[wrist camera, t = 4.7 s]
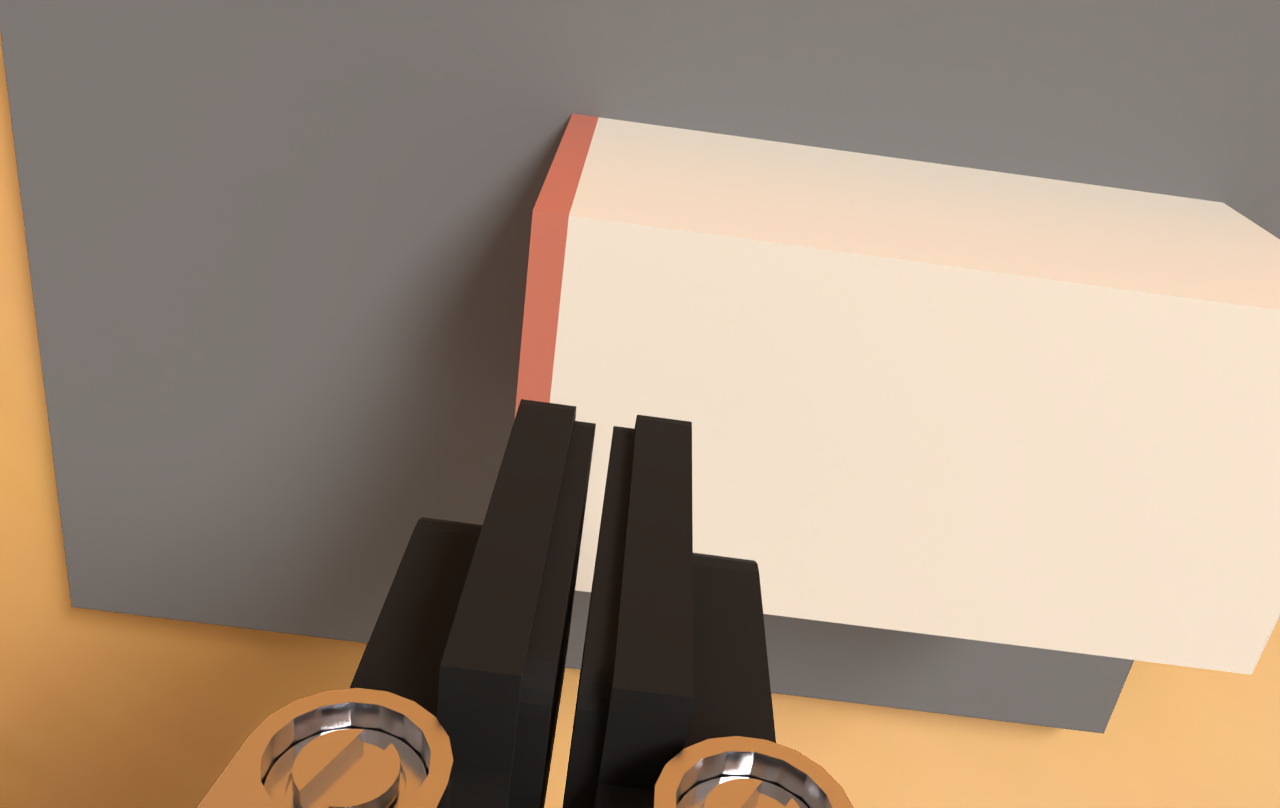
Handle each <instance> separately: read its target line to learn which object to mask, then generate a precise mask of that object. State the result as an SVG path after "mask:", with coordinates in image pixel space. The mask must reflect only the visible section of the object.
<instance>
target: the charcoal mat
mask: <svg viewBox="0 0 1280 808" xmlns="http://www.w3.org/2000/svg"><path fill="white" fill-rule="evenodd" d="M0 32H1V40H2V49H3V57H4V65H5V73H6V81H7V89H8V97H9V105H10V113H11V121H12V129H13V137H14V145H15V153H16V161H17V170H18V178H19V186H20V194H21V202H22V210H23V218H24V226H25V234H26V242H27V250H28V258H29V266H30V274H31V282H32V291H33V299H34V307H35V315H36V323H37V331H38V339H39V347H40V355H41V363H42V371H43V379H44V387H45V395H46V403H47V412H48V420H49V428H50V436H51V444H52V452H53V460H54V468H55V476H56V484H57V492H58V500H59V508H60V516H61V524H62V532H63V541H64V549H65V557H66V565H67V573H68V581H69V589H70V597H71V605H72V607H76V608H84V609H93V610H101V611H109V612H117V613H125V614H133V615H142V616H150V617H158V618H166V619H174V620H182V621H191V622H199V623H207V624H215V625H223V626H231V627H239V628H248V629H256V630H264V631H272V632H280V633H288V634H297V635H305V636H313V637H321V638H329V639H337V640H345V641H354V642H362V643H368V642H369V639H370V637H371V634H372V632H373V629H374V627H375V624H376V622H377V619H378V617H379V614H380V612H381V609H382V607H383V605H384V602H385V600H386V597H387V595H388V592H389V590H390V587H391V585H392V582H393V580H394V577H395V575H396V572H397V570H398V567H399V565H400V562H401V560H402V557H403V555H404V552H405V550H406V547H407V545H408V543H409V540H410V538H411V535H412V533H413V530H414V528H415V526H416V524H417V522H418V520H419V519H420V518H422V517H425V518H432V519H440V520H448V521H455V522H463V523H471V524H478V525H483V522H484V519H485V516H486V512H487V509H488V506H489V503H490V499H491V496H492V493H493V489H494V486H495V483H496V480H497V476H498V473H499V470H500V466H501V463H502V460H503V456H504V453H505V450H506V447H507V443H508V440H509V437H510V433H511V430H512V427H513V424H514V419H515V408H516V396H517V385H518V373H519V362H520V351H521V339H522V328H523V316H524V305H525V294H526V282H527V271H528V259H529V248H530V237H531V225H532V214H533V209H534V206H535V204H536V201H537V199H538V196H539V194H540V191H541V189H542V187H543V184H544V182H545V179H546V177H547V174H548V172H549V169H550V167H551V165H552V162H553V160H554V157H555V155H556V152H557V150H558V147H559V145H560V142H561V140H562V138H563V135H564V133H565V130H566V128H567V125H568V123H569V120H570V118H571V116H572V114H579V115H586V116H593V117H601V118H608V119H615V120H622V121H630V122H637V123H644V124H652V125H659V126H666V127H674V128H681V129H688V130H696V131H703V132H710V133H718V134H725V135H732V136H740V137H747V138H754V139H762V140H769V141H776V142H783V143H791V144H798V145H805V146H813V147H820V148H827V149H835V150H842V151H849V152H857V153H864V154H871V155H879V156H886V157H893V158H901V159H908V160H915V161H923V162H930V163H937V164H944V165H952V166H959V167H966V168H974V169H981V170H988V171H996V172H1003V173H1010V174H1018V175H1025V176H1032V177H1040V178H1047V179H1054V180H1062V181H1069V182H1076V183H1084V184H1091V185H1098V186H1106V187H1113V188H1120V189H1127V190H1135V191H1142V192H1149V193H1157V194H1164V195H1171V196H1179V197H1186V198H1193V199H1201V200H1208V201H1215V202H1223V203H1225V204H1226V205H1228V206H1229V207H1231V208H1232V209H1234V210H1235V211H1237V212H1238V213H1240V214H1241V215H1243V216H1245V217H1246V218H1248V219H1249V220H1251V221H1252V222H1254V223H1255V224H1257V225H1258V226H1260V227H1261V228H1263V229H1264V230H1266V231H1268V232H1269V233H1271V234H1272V235H1274V236H1275V237H1277V238H1278V239H1280V0H0ZM590 597H591V592H584V591H576V590H575V594H574V602H573V610H572V618H571V626H570V634H569V642H568V649H567V657H566V664H565V667H566V668H574V669H581V664H582V657H583V649H584V642H585V634H586V627H587V619H588V612H589V604H590ZM763 617H764V627H765V637H766V647H767V657H768V668H769V678H770V688H771V693H778V694H786V695H794V696H802V697H810V698H818V699H827V700H835V701H843V702H851V703H859V704H867V705H876V706H884V707H892V708H900V709H908V710H916V711H924V712H933V713H941V714H949V715H957V716H965V717H973V718H982V719H990V720H998V721H1006V722H1014V723H1022V724H1031V725H1039V726H1047V727H1055V728H1063V729H1071V730H1079V731H1088V732H1096V733H1104V731H1105V729H1106V726H1107V724H1108V722H1109V719H1110V717H1111V714H1112V712H1113V710H1114V707H1115V705H1116V702H1117V700H1118V697H1119V695H1120V693H1121V690H1122V688H1123V685H1124V683H1125V681H1126V678H1127V676H1128V673H1129V671H1130V668H1131V666H1132V664H1133V661H1134V660H1130V659H1122V658H1114V657H1106V656H1098V655H1090V654H1082V653H1074V652H1066V651H1058V650H1050V649H1042V648H1034V647H1026V646H1018V645H1010V644H1002V643H994V642H986V641H978V640H970V639H961V638H953V637H945V636H937V635H929V634H921V633H913V632H905V631H897V630H889V629H881V628H873V627H865V626H857V625H849V624H841V623H833V622H825V621H817V620H809V619H801V618H793V617H785V616H777V615H769V614H763Z"/></svg>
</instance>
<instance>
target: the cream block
mask: <svg viewBox="0 0 1280 808" xmlns="http://www.w3.org/2000/svg"><path fill="white" fill-rule="evenodd" d="M521 399H524V400H532V401H539V402H547V403H554V404H562V405H569V406H576V419H575V421H580V422H588V423H595V424H596V428H595V436H594V444H593V452H592V460H591V468H590V476H589V484H588V492H587V500H586V507H585V515H584V523H583V531H582V539H581V547H580V555H579V563H578V571H577V579H576V586H575V590H576V591H584V592H591V590H592V582H593V575H594V567H595V560H596V553H597V545H598V538H599V530H600V523H601V515H602V508H603V501H604V493H605V486H606V478H607V471H608V463H609V456H610V449H611V441H612V434H613V427H614V426H618V427H625V428H633V429H635V423H636V417H637V415H644V416H652V417H659V418H667V419H674V420H682V421H689V422H692V524H693V553H700V554H708V555H716V556H723V557H731V558H739V559H746V560H754V561H756V563H757V564H758V569H759V576H760V586H761V596H762V606H763V614H769V615H777V616H785V617H793V618H801V619H809V620H817V621H825V622H833V623H841V624H849V625H857V626H865V627H873V628H881V629H889V630H897V631H905V632H913V633H921V634H929V635H937V636H945V637H953V638H961V639H970V640H978V641H986V642H994V643H1002V644H1010V645H1018V646H1026V647H1034V648H1042V649H1050V650H1058V651H1066V652H1074V653H1082V654H1090V655H1098V656H1106V657H1114V658H1122V659H1130V660H1138V661H1146V662H1154V663H1162V664H1170V665H1178V666H1186V667H1194V668H1202V669H1210V670H1218V671H1226V672H1234V673H1242V674H1250V675H1252V672H1253V670H1254V668H1255V666H1256V664H1257V662H1258V660H1259V658H1260V656H1261V654H1262V652H1263V649H1264V647H1265V645H1266V643H1267V641H1268V639H1269V637H1270V635H1271V633H1272V631H1273V628H1274V626H1275V624H1276V622H1277V620H1278V618H1279V616H1280V239H1278V238H1277V237H1275V236H1274V235H1272V234H1271V233H1269V232H1268V231H1266V230H1264V229H1263V228H1261V227H1260V226H1258V225H1257V224H1255V223H1254V222H1252V221H1251V220H1249V219H1248V218H1246V217H1245V216H1243V215H1241V214H1240V213H1238V212H1237V211H1235V210H1234V209H1232V208H1231V207H1229V206H1228V205H1226V204H1225V203H1223V202H1215V201H1208V200H1201V199H1193V198H1186V197H1179V196H1171V195H1164V194H1157V193H1149V192H1142V191H1135V190H1127V189H1120V188H1113V187H1106V186H1098V185H1091V184H1084V183H1076V182H1069V181H1062V180H1054V179H1047V178H1040V177H1032V176H1025V175H1018V174H1010V173H1003V172H996V171H988V170H981V169H974V168H966V167H959V166H952V165H944V164H937V163H930V162H923V161H915V160H908V159H901V158H893V157H886V156H879V155H871V154H864V153H857V152H849V151H842V150H835V149H827V148H820V147H813V146H805V145H798V144H791V143H783V142H776V141H769V140H762V139H754V138H747V137H740V136H732V135H725V134H718V133H710V132H703V131H696V130H688V129H681V128H674V127H666V126H659V125H652V124H644V123H637V122H630V121H622V120H615V119H608V118H601V117H593V116H586V115H579V114H572V116H571V118H570V120H569V123H568V125H567V128H566V130H565V133H564V135H563V138H562V140H561V142H560V145H559V147H558V150H557V152H556V155H555V157H554V160H553V162H552V165H551V167H550V169H549V172H548V174H547V177H546V179H545V182H544V184H543V187H542V189H541V191H540V194H539V196H538V199H537V201H536V204H535V206H534V209H533V214H532V225H531V237H530V248H529V259H528V271H527V282H526V294H525V305H524V316H523V328H522V339H521V351H520V362H519V373H518V385H517V396H516V408H515V417H516V414H517V410H518V407H519V404H520V401H521ZM514 420H515V419H514Z"/></svg>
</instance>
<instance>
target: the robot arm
mask: <svg viewBox="0 0 1280 808" xmlns="http://www.w3.org/2000/svg"><path fill="white" fill-rule="evenodd" d="M575 419H576V406H569V405H562V404H554V403H547V402H539V401H532V400H524V399H521V401H520V404H519V407H518V410H517V414H516V417H515V420H514V424H513V427H512V430H511V433H510V437H509V440H508V443H507V447H506V450H505V453H504V456H503V460H502V463H501V466H500V470H499V473H498V476H497V480H496V483H495V486H494V489H493V493H492V496H491V499H490V503H489V506H488V509H487V512H486V516H485V519H484V522H483V525H478V524H471V523H463V522H455V521H448V520H440V519H432V518H425V517H422V518H420V519H419V520H418V522H417V524H416V526H415V528H414V530H413V533H412V535H411V538H410V540H409V543H408V545H407V547H406V550H405V552H404V555H403V557H402V560H401V562H400V565H399V567H398V570H397V572H396V575H395V577H394V580H393V582H392V585H391V587H390V590H389V592H388V595H387V597H386V600H385V602H384V605H383V607H382V609H381V612H380V614H379V617H378V619H377V622H376V624H375V627H374V629H373V632H372V634H371V637H370V639H369V642H368V644H367V647H366V649H365V652H364V654H363V657H362V659H361V662H360V664H359V667H358V669H357V671H356V674H355V676H354V679H353V681H352V684H351V686H350V689H339V690H328V691H323V692H320V693H317V694H314V695H310V696H307V697H304V698H301V699H297V700H295V701H293V702H291V703H290V704H288V705H286V706H284V707H283V708H281V709H279V710H277V711H276V712H274V713H272V714H270V715H269V716H268V717H267V718H266V719H265V720H264V721H263V722H262V723H261V724H260V725H259V726H258V727H257V728H256V729H255V730H254V731H253V732H252V733H251V734H250V735H249V736H248V738H247V739H246V740H245V742H244V743H243V744H242V746H241V747H240V749H239V750H238V751H237V753H236V754H235V755H234V757H233V758H232V760H231V761H230V762H229V764H228V765H227V766H226V768H225V769H224V771H223V772H222V773H221V775H220V776H219V777H218V779H217V780H216V782H215V783H214V784H213V786H212V787H211V788H210V790H209V791H208V793H207V794H206V795H205V797H204V798H203V800H202V801H201V802H200V804H199V805H198V806H197V808H544V804H545V798H546V791H547V784H548V778H549V771H550V764H551V758H552V751H553V744H554V738H555V731H556V724H557V718H558V711H559V705H560V698H561V691H562V685H563V678H564V671H565V664H566V657H567V649H568V642H569V634H570V626H571V618H572V610H573V602H574V594H575V586H576V579H577V571H578V563H579V555H580V547H581V539H582V531H583V523H584V515H585V507H586V500H587V492H588V484H589V476H590V468H591V460H592V452H593V444H594V436H595V428H596V424H595V423H588V422H580V421H575ZM563 808H853V806H852V804H851V802H850V801H849V799H848V797H847V795H846V793H845V791H844V790H843V788H842V787H841V786H840V785H839V784H838V783H837V782H836V781H835V780H834V779H833V778H832V777H831V776H830V775H829V774H828V772H827V771H826V770H825V769H824V768H823V767H822V766H820V765H818V764H817V763H815V762H814V761H812V760H810V759H809V758H807V757H806V756H804V755H802V754H801V753H799V752H798V751H796V750H793V749H791V748H788V747H785V746H782V745H780V744H777V743H776V739H775V729H774V719H773V709H772V698H771V688H770V678H769V668H768V657H767V647H766V637H765V627H764V617H763V606H762V596H761V586H760V576H759V569H758V564H757V563H756V561H754V560H746V559H739V558H731V557H723V556H716V555H708V554H700V553H693V524H692V422H689V421H682V420H674V419H667V418H659V417H652V416H644V415H637V417H636V423H635V429H633V428H625V427H618V426H614V427H613V434H612V441H611V449H610V456H609V463H608V471H607V478H606V486H605V493H604V501H603V508H602V515H601V523H600V530H599V538H598V545H597V553H596V560H595V567H594V575H593V582H592V590H591V597H590V604H589V612H588V619H587V627H586V634H585V642H584V649H583V657H582V664H581V672H580V679H579V687H578V694H577V702H576V710H575V717H574V725H573V733H572V740H571V748H570V755H569V763H568V771H567V778H566V786H565V794H564V801H563Z"/></svg>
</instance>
